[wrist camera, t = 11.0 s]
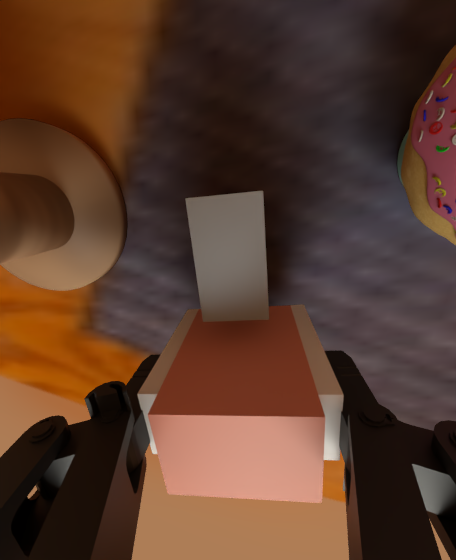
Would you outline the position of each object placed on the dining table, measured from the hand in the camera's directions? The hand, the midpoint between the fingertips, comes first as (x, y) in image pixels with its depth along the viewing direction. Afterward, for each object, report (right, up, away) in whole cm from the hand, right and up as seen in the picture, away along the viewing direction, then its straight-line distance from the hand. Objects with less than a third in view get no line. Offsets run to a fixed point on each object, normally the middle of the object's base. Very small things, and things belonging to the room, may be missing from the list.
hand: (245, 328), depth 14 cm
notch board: (0, +1, +2) cm, 3 cm away
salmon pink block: (0, 0, 0) cm, 0 cm away
